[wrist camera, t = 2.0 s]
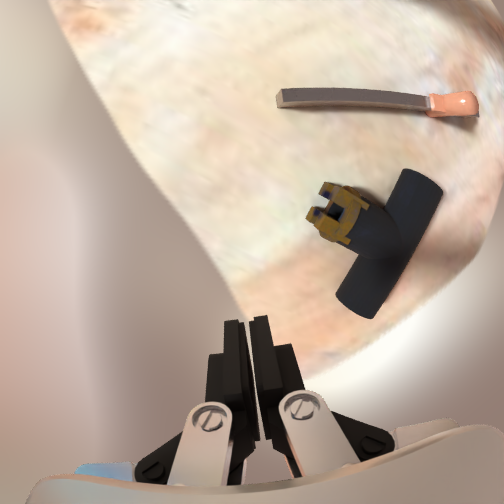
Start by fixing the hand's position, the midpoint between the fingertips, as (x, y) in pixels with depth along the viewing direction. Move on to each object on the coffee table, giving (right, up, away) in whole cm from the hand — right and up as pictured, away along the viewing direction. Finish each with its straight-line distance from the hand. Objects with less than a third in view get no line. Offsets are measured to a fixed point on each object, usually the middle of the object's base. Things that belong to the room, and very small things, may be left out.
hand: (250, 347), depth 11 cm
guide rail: (+14, +19, +12) cm, 27 cm away
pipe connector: (+11, +7, +17) cm, 22 cm away
